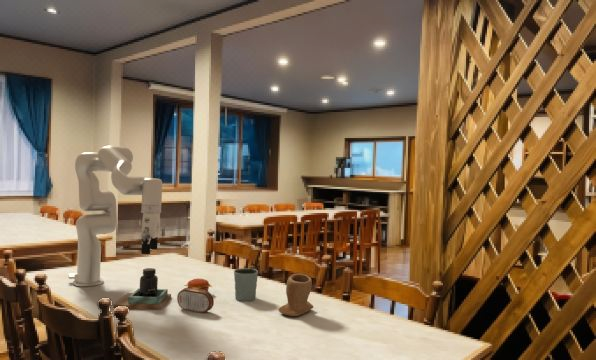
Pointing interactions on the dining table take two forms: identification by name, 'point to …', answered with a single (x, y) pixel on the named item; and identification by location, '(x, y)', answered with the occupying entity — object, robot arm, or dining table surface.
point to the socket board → (144, 300)
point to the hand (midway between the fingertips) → (149, 251)
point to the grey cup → (245, 284)
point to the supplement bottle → (148, 283)
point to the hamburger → (198, 284)
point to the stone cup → (297, 295)
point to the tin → (195, 300)
